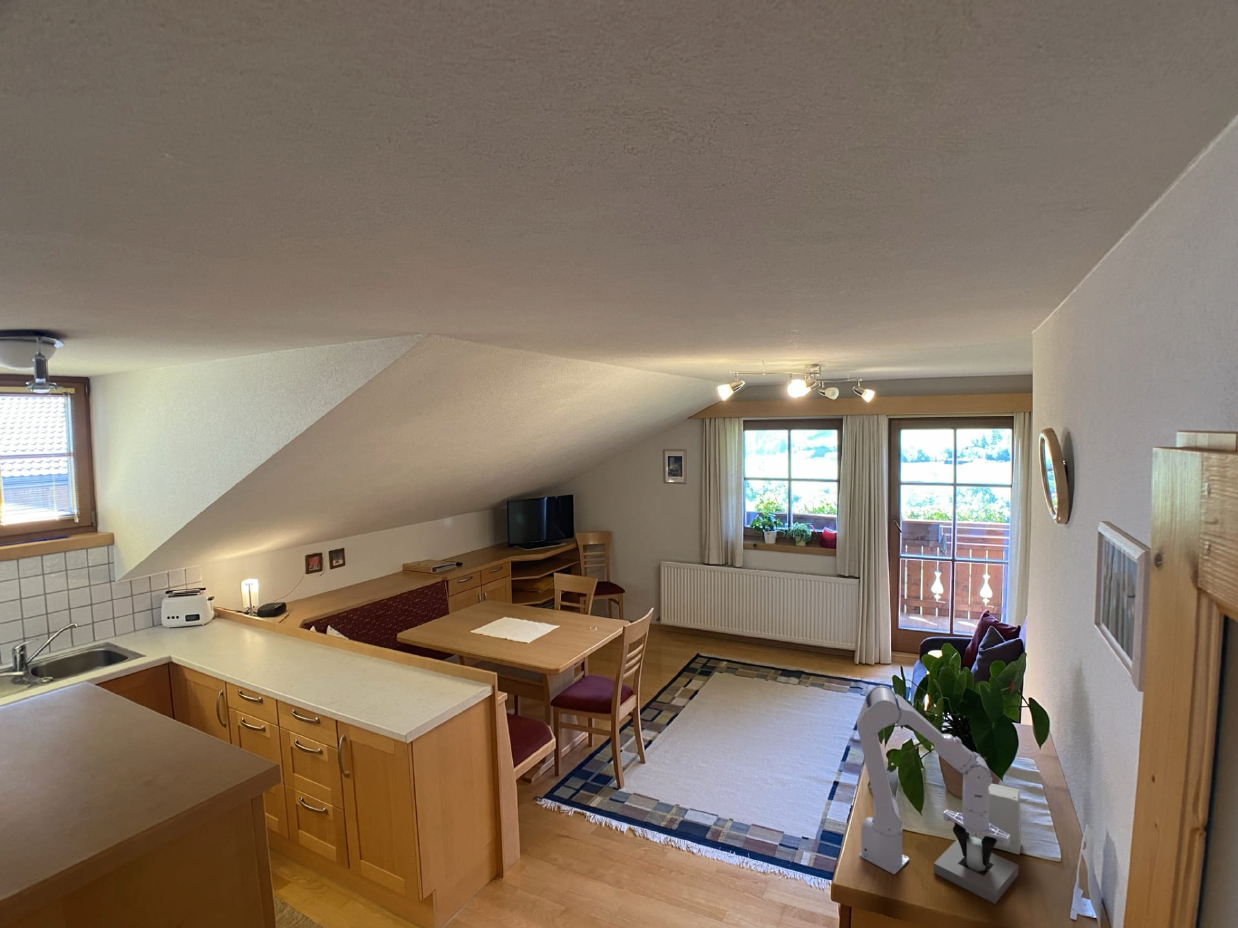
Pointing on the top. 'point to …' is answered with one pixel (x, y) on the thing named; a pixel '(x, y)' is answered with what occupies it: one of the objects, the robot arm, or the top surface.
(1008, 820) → the skincare box
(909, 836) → the top surface
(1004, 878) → the dock
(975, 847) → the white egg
